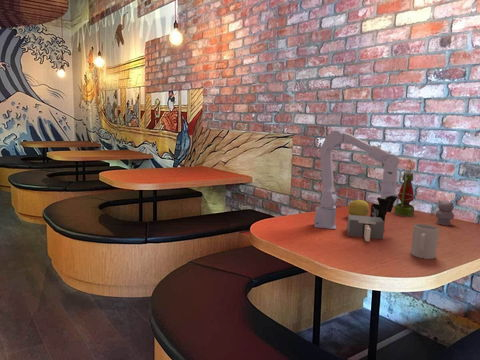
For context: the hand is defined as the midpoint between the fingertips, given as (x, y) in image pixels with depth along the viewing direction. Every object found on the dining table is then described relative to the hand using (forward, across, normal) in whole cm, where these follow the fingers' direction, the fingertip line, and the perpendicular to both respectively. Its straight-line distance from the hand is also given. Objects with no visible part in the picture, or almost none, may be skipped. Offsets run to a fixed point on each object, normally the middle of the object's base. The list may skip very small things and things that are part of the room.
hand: (385, 213), depth 170 cm
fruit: (+10, +23, +20) cm, 32 cm away
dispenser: (+10, -5, +7) cm, 13 cm away
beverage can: (+10, +10, +6) cm, 16 cm away
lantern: (+10, +55, +4) cm, 56 cm away
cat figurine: (+10, +47, -17) cm, 51 cm away
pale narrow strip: (+10, -11, +4) cm, 15 cm away
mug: (+10, -20, -20) cm, 29 cm away
